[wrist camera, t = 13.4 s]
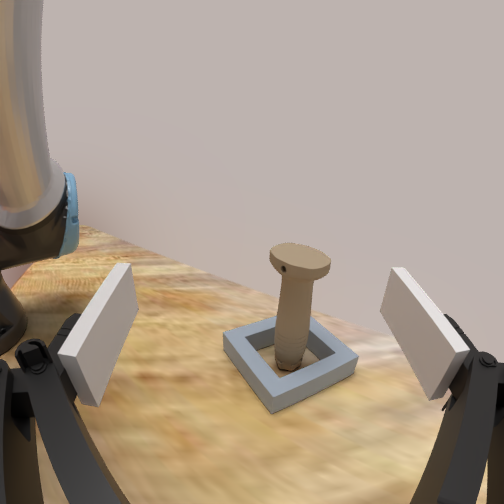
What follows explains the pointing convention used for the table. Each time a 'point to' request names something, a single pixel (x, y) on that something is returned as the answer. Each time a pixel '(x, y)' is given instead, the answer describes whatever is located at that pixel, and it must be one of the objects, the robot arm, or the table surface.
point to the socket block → (299, 382)
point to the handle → (295, 299)
